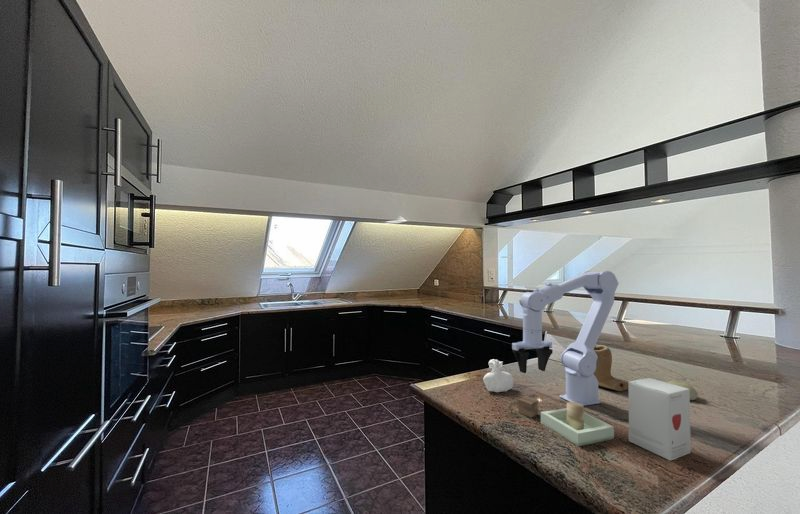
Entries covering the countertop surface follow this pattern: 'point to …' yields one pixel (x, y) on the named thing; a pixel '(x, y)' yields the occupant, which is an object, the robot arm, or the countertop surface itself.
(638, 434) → the supplement box
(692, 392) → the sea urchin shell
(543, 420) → the tray
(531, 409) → the walnut cube
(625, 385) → the brown boot
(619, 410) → the countertop surface
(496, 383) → the bust
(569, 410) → the beech cylinder
